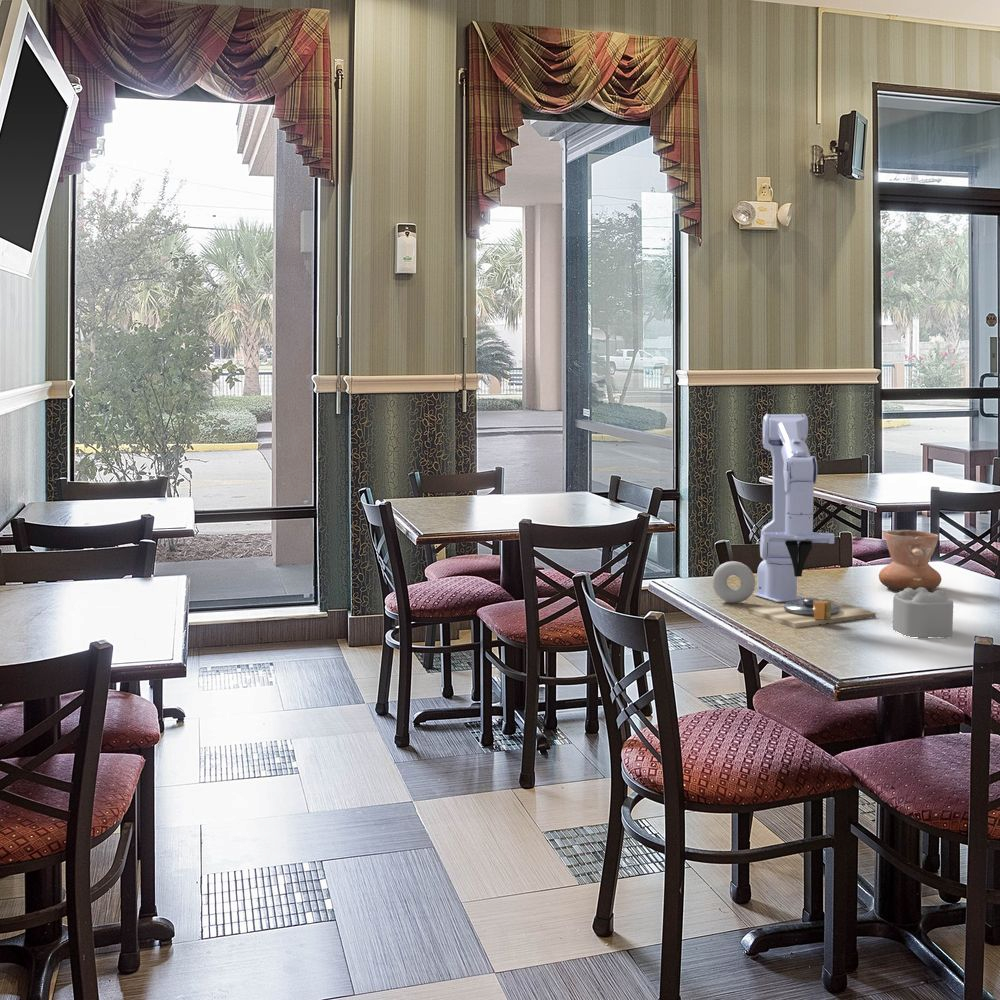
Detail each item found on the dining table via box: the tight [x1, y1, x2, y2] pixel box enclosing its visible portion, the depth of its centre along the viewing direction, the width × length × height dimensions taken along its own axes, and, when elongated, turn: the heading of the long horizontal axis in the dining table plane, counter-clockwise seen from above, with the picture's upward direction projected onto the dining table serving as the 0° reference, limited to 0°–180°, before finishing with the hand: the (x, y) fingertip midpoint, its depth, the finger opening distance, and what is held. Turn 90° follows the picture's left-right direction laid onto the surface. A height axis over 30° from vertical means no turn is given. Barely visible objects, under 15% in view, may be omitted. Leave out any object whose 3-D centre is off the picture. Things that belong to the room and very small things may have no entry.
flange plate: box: [783, 597, 840, 619], centre depth 237 cm, size 12×16×4 cm
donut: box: [711, 560, 756, 604], centre depth 252 cm, size 10×4×10 cm, turn 69°
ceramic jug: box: [878, 529, 942, 592], centre depth 265 cm, size 18×14×14 cm
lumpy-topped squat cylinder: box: [891, 587, 954, 639], centre depth 223 cm, size 10×13×9 cm
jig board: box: [748, 598, 877, 629], centre depth 238 cm, size 17×22×5 cm
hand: (797, 575), depth 231 cm, fingers closed
